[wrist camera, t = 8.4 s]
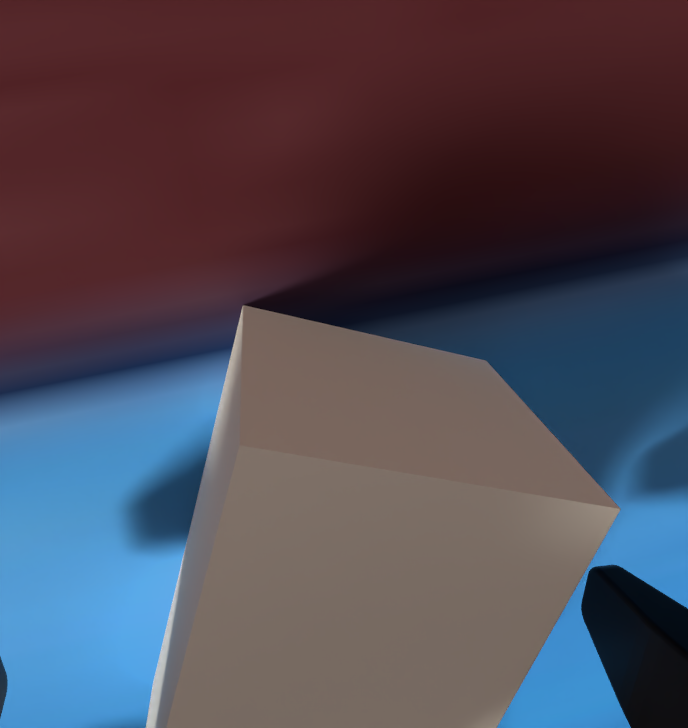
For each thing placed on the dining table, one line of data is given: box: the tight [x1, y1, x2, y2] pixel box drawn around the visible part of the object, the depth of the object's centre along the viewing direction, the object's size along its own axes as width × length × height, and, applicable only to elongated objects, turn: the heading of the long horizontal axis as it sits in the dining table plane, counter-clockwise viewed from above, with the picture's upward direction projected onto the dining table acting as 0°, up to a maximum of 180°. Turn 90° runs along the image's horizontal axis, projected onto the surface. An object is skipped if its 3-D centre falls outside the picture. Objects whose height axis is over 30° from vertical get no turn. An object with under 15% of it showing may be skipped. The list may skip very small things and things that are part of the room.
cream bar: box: [146, 305, 620, 728], centre depth 9 cm, size 8×4×4 cm, turn 163°
